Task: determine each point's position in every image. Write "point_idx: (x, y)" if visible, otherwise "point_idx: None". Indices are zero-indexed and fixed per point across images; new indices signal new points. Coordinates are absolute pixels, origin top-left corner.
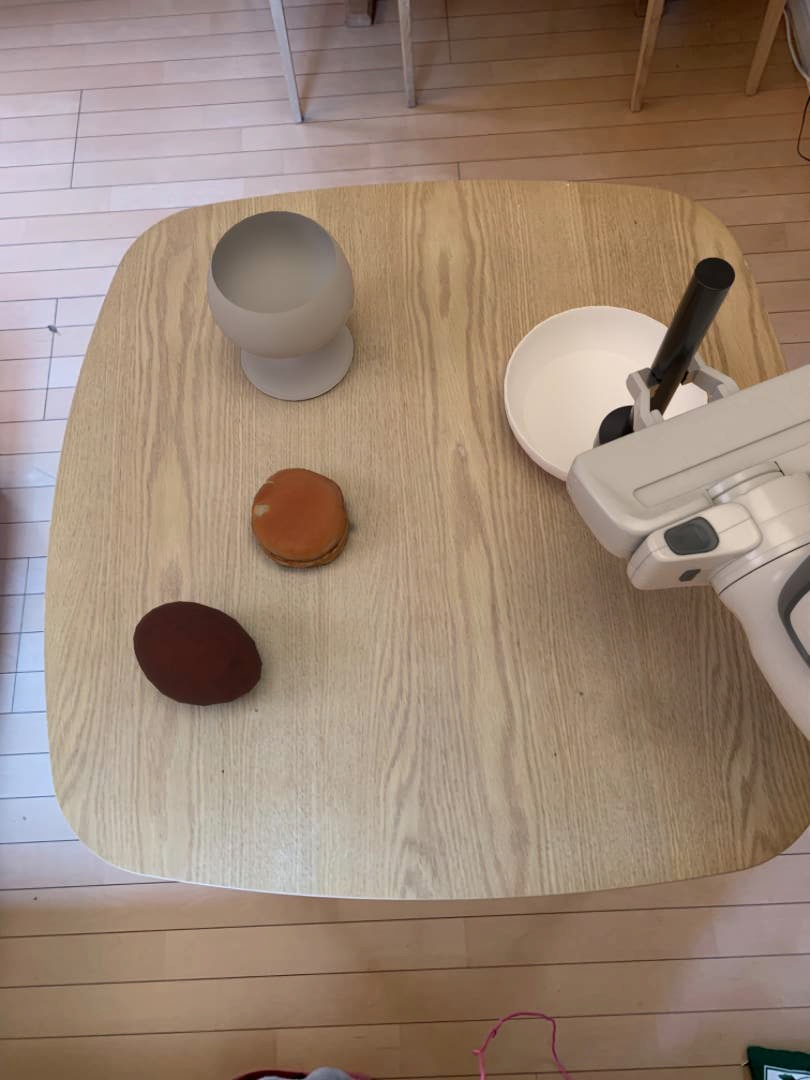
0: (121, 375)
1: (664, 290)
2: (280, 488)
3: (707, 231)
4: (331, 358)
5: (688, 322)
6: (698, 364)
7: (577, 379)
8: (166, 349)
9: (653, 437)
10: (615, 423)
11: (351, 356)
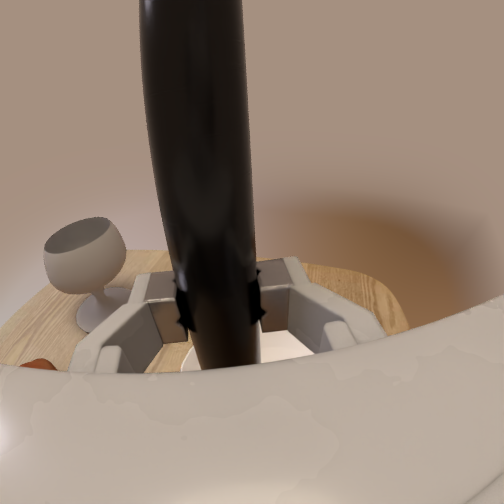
0: (42, 298)
1: None
2: (30, 365)
3: (382, 289)
4: None
5: (141, 21)
6: (291, 277)
7: None
8: (62, 293)
9: (20, 396)
10: None
11: None
